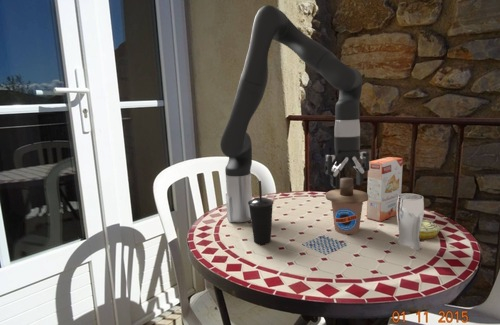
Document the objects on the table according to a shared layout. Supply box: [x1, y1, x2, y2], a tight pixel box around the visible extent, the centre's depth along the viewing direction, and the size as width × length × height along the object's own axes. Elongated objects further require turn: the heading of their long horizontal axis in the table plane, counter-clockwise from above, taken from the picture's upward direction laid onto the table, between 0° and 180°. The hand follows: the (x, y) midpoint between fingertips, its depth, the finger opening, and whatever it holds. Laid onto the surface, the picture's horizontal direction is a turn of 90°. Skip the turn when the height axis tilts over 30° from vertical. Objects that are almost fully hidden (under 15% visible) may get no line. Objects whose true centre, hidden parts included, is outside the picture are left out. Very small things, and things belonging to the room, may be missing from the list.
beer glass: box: [396, 192, 425, 251], centre depth 96 cm, size 7×7×15 cm
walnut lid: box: [325, 177, 368, 204], centre depth 106 cm, size 13×13×6 cm
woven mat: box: [301, 235, 347, 256], centre depth 98 cm, size 10×11×2 cm
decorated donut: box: [419, 218, 441, 240], centre depth 106 cm, size 10×11×4 cm
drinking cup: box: [248, 180, 275, 245], centre depth 101 cm, size 8×8×20 cm
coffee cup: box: [330, 201, 364, 235], centre depth 108 cm, size 10×10×12 cm
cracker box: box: [366, 156, 404, 222], centre depth 121 cm, size 14×6×21 cm, turn 129°
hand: (346, 186), depth 106 cm, fingers open, 8 cm apart
